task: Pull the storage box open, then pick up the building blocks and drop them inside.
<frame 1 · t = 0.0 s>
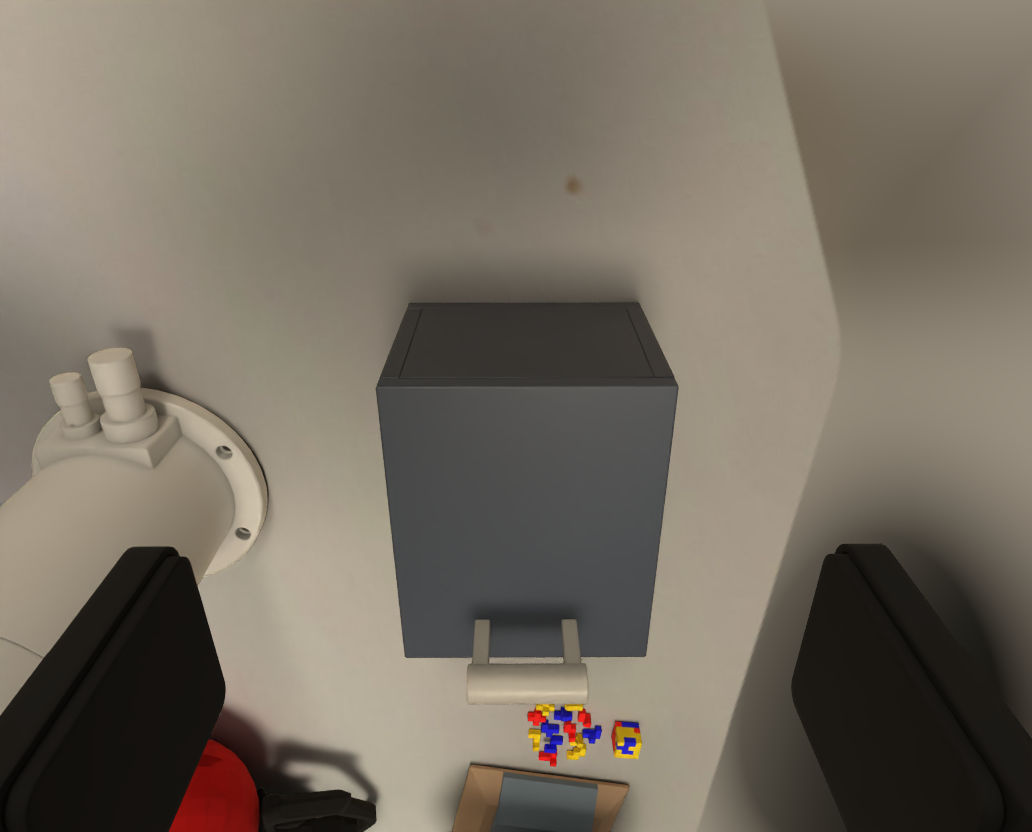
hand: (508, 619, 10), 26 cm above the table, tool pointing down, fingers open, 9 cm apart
building blocks: (580, 726, 51), on the table
storage box: (523, 420, 38), on the table
decorative object: (253, 773, 53), on the table
washer lid: (527, 564, 29), point 11 cm above the table, hinge at 0.0°
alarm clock: (536, 811, 55), on the table
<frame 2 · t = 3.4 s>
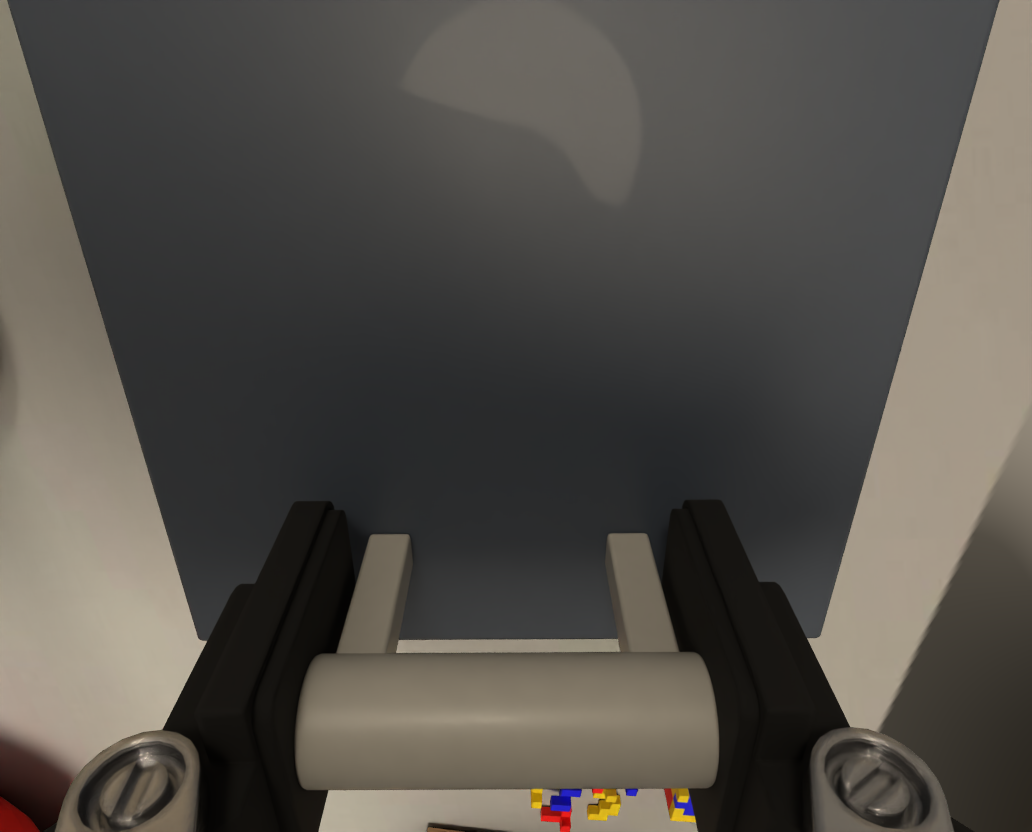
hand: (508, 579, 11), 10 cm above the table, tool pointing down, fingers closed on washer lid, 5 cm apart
building blocks: (611, 766, 30), on the table
washer lid: (505, 296, 8), point 11 cm above the table, hinge at 0.0°, touching gripper
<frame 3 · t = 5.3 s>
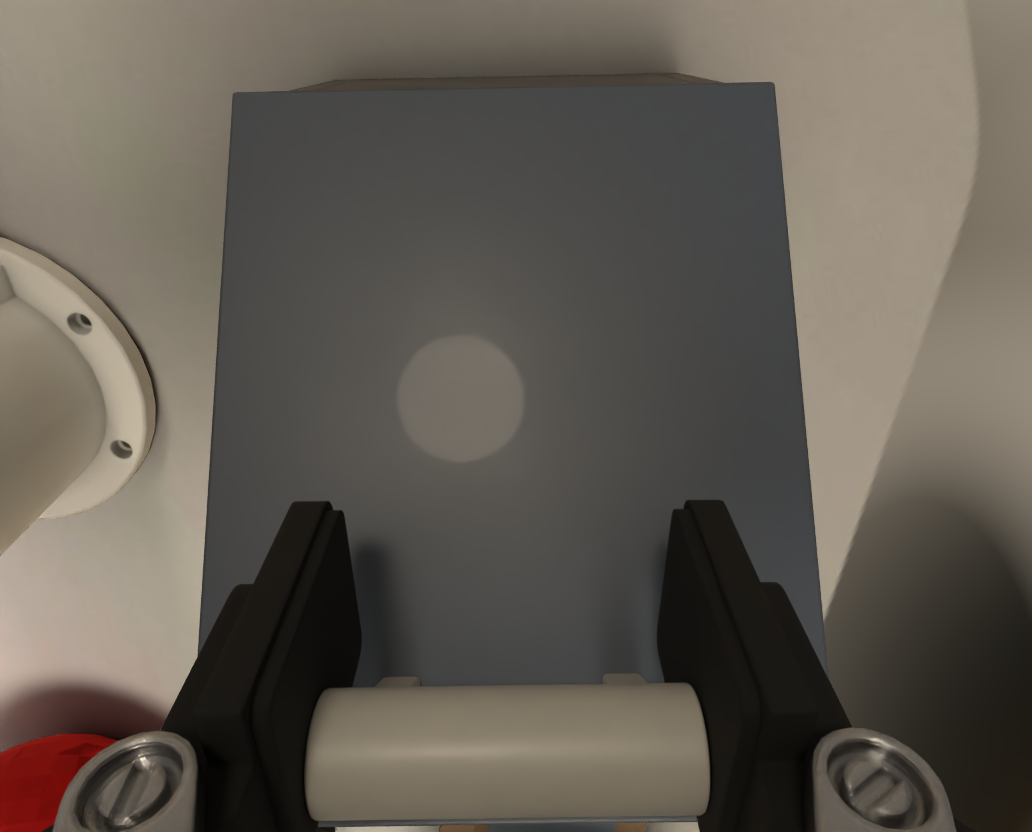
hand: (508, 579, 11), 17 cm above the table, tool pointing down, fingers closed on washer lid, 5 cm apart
storage box: (510, 274, 27), on the table
decorative object: (178, 782, 41), on the table
washer lid: (505, 403, 12), point 15 cm above the table, hinge at 38.7°, touching gripper
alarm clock: (541, 826, 43), on the table
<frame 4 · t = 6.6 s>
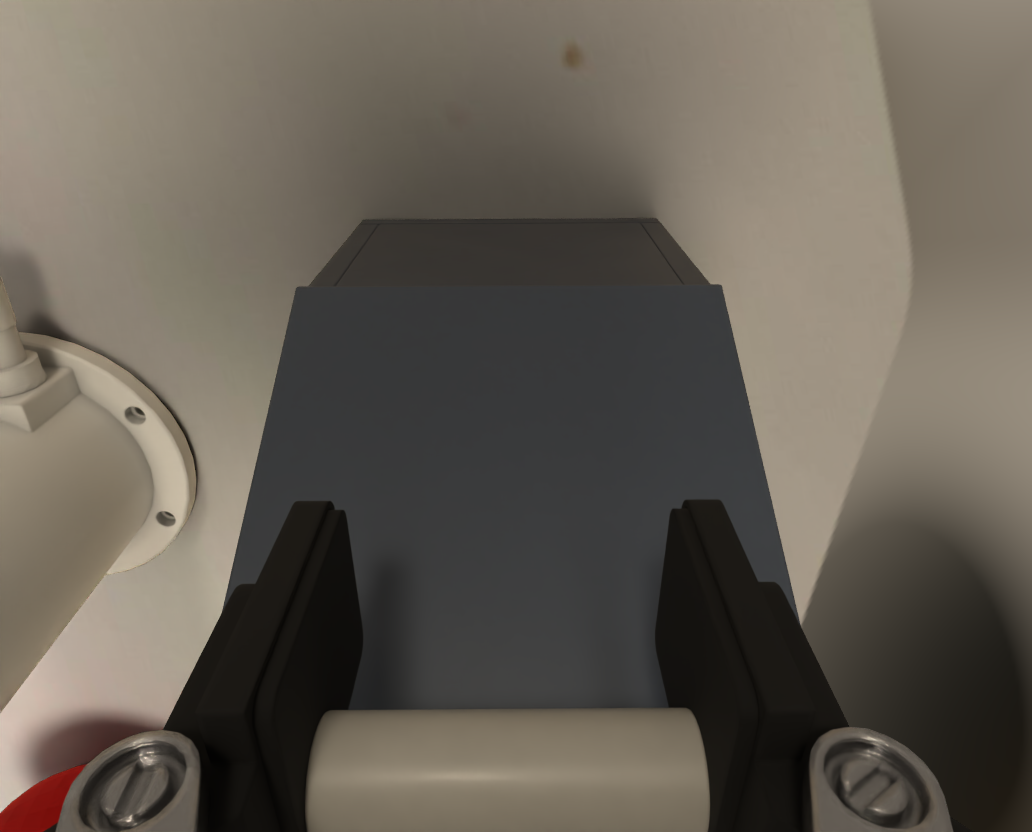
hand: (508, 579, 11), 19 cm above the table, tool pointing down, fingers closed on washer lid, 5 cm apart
storage box: (511, 375, 31), on the table
decorative object: (200, 803, 45), on the table
washer lid: (508, 494, 14), point 17 cm above the table, hinge at 61.9°, touching gripper
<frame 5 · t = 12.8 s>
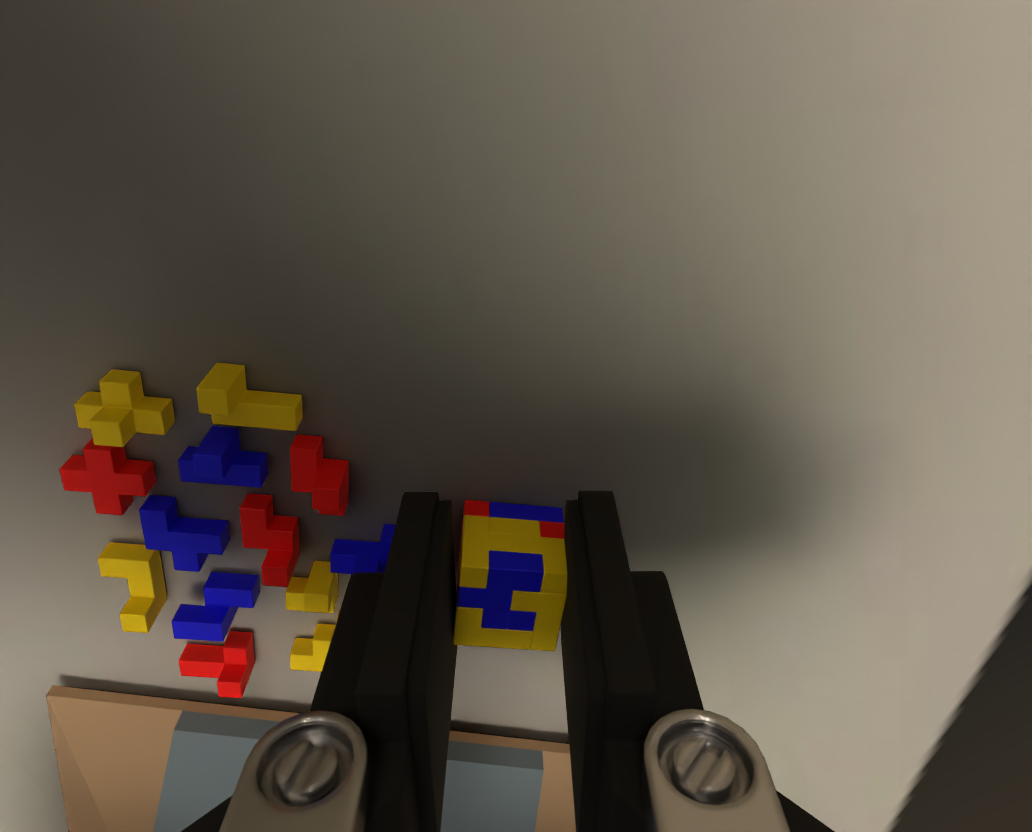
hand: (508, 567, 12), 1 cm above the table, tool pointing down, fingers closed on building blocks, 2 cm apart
building blocks: (328, 531, 12), on the table, touching gripper
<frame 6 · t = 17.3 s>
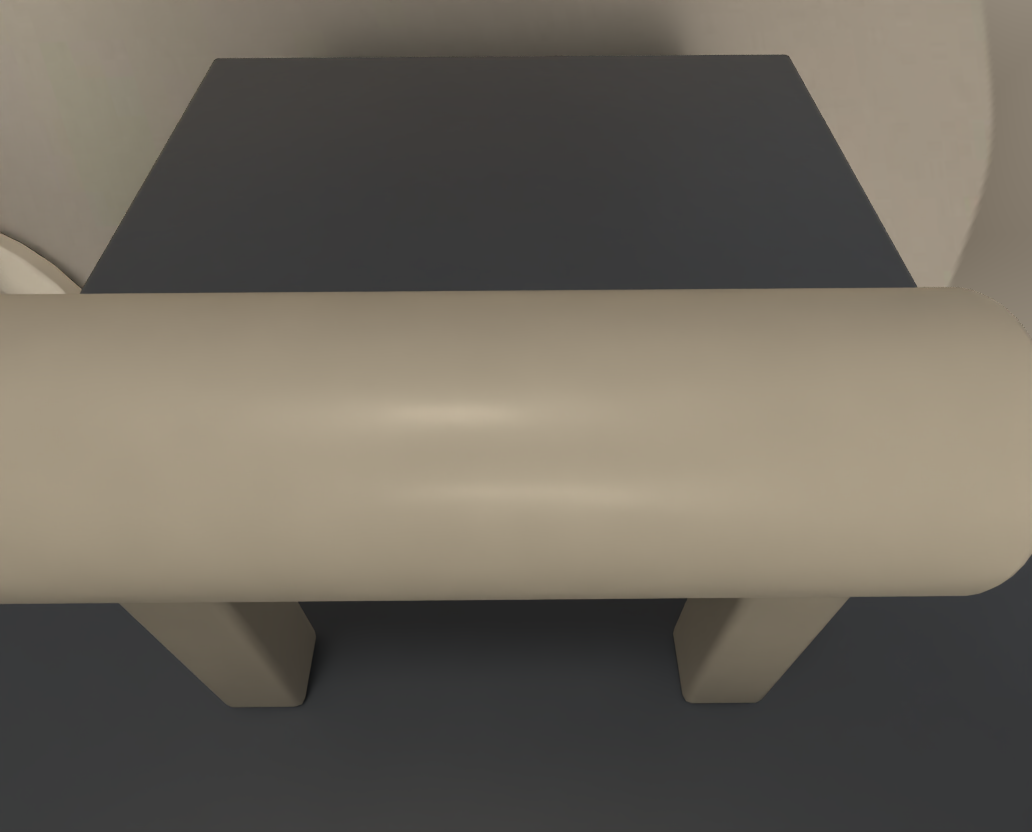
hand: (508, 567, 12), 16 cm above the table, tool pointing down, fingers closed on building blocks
washer lid: (495, 184, 8), point 17 cm above the table, hinge at 67.3°
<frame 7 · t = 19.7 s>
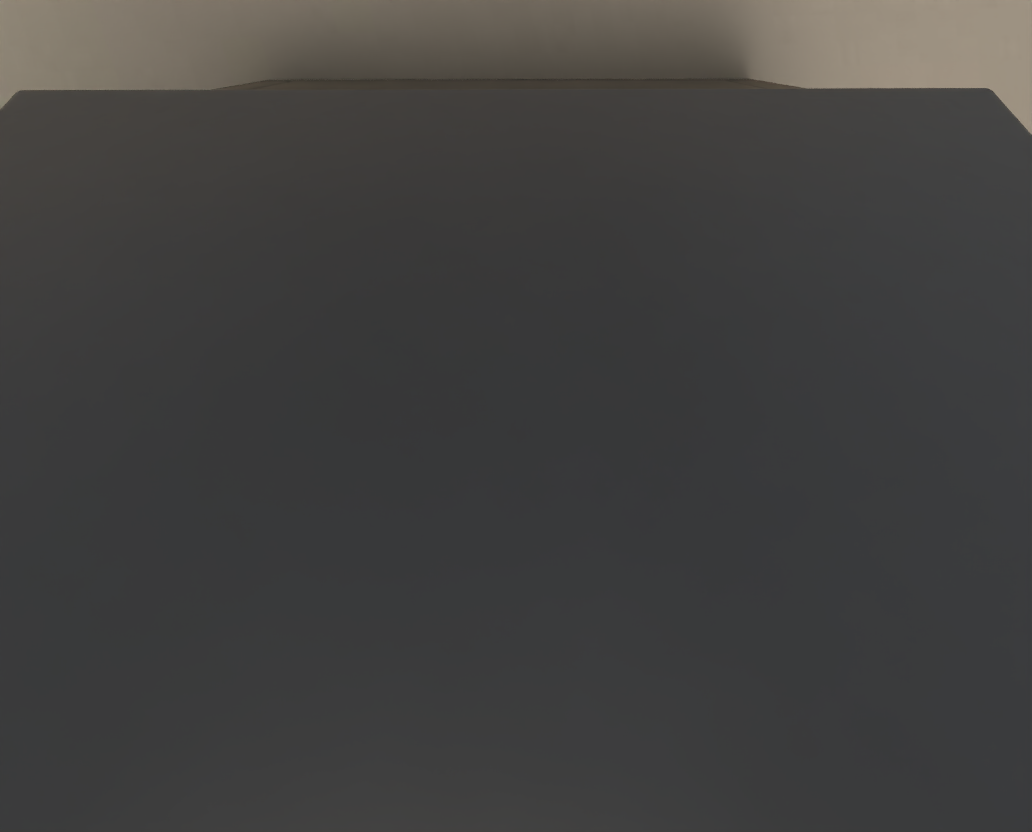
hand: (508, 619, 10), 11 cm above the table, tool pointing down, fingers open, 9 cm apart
storage box: (510, 342, 20), on the table
washer lid: (486, 604, 2), point 17 cm above the table, hinge at 67.3°
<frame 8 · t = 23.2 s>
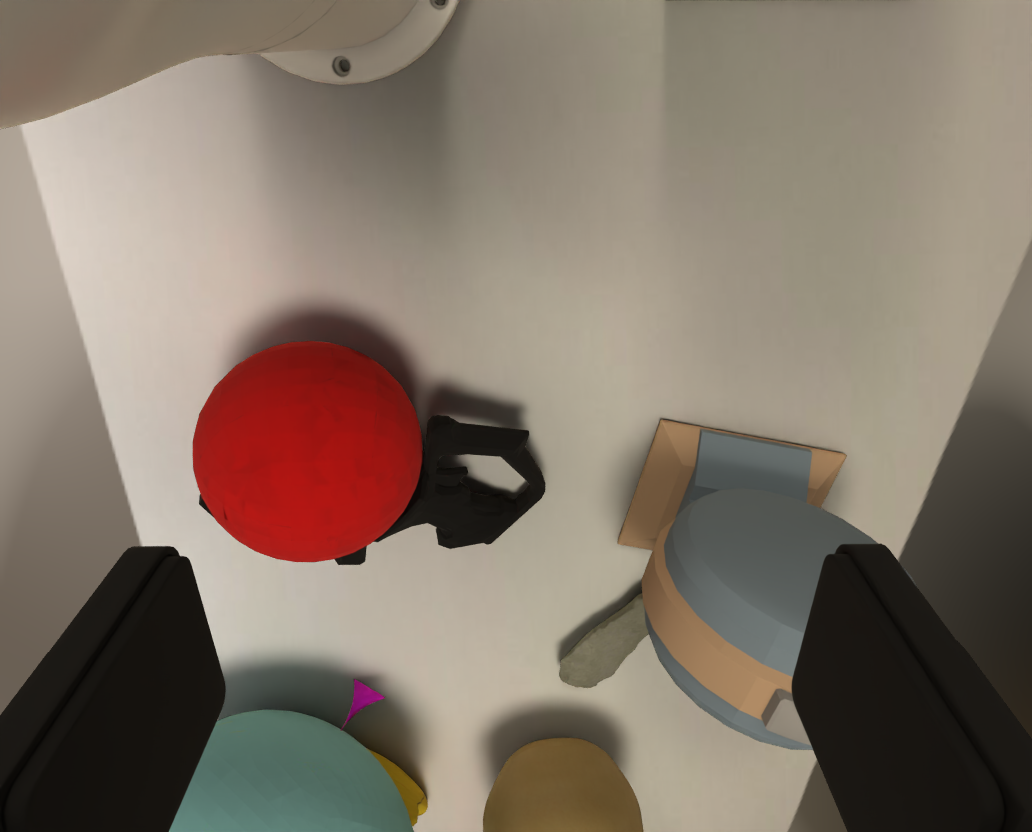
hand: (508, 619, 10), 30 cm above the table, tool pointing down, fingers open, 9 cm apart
stone: (601, 618, 49), point 1 cm above the table
toy 2: (396, 705, 56), on the table
decorative object: (396, 437, 44), on the table
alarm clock: (726, 497, 46), on the table
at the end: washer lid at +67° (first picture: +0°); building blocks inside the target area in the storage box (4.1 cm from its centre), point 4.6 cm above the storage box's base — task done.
